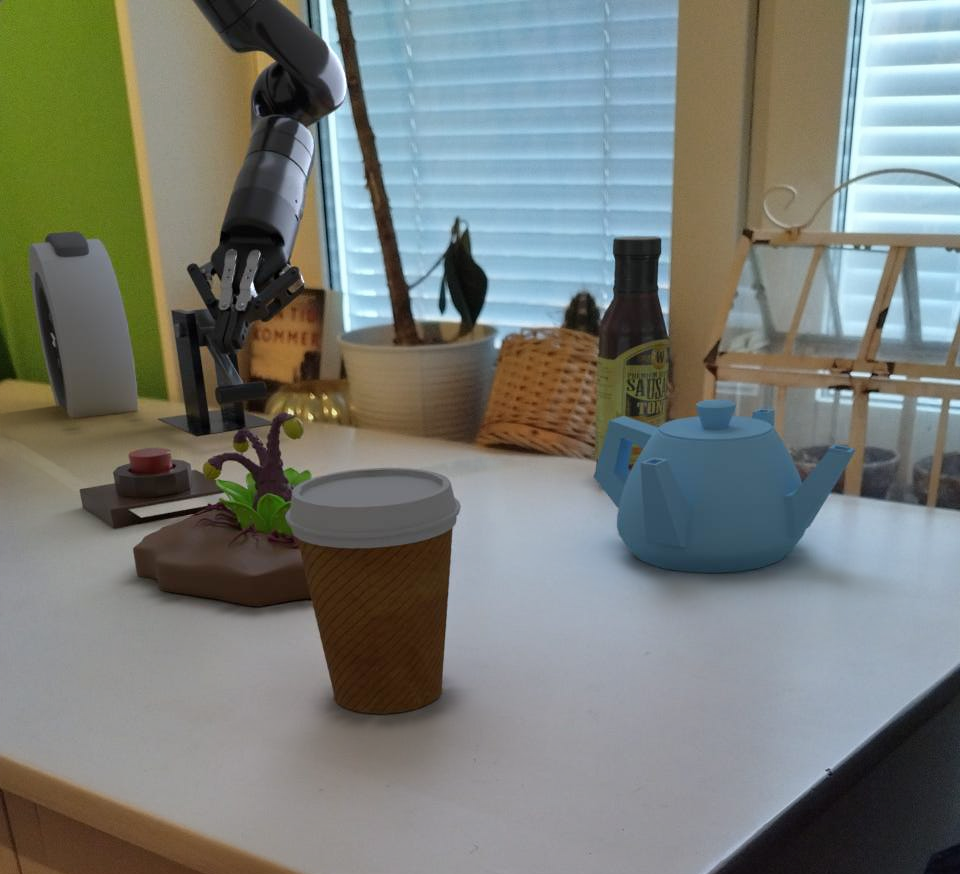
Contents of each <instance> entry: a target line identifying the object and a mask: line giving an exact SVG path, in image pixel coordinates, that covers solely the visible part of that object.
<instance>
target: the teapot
mask: <svg viewBox="0 0 960 874" xmlns="http://www.w3.org/2000/svg"><path fill="white" fill-rule="evenodd" d="M736 406H737V403H736V402H735V401H733V400H730V399H721V398H720V399H719V398H717V399H716V398H715V399H714V398H713V399H712V398H711V399H705V400H701V401H699V402H697V403H696V404H695V407H696V411H697V415H698V416H690V417H688V416H687V417H682V418H677V419H672V420H669V421H666V423H664V424H662V425H661V426H660V427H655V426H652V425H649V424H646V423H643V422H640V421H637V420H634V419H632V418H629V417H626V416H622V417H619V418H616V419H613V420H610V422H609V425H608V428H607V432H606V435H605V439H604V442H603V446H602V449H601V453H600V456H599V460H598V463H597V462H596V464H597V467H596V466H595V470H594V474H593V479H595V481H596V482H597V484H598V485H599V486H600V487H601V489H602V490H603V491H604V492H605V493H606V495H607V496H608V497H609V499H610V500H611V501H612V502H613V504H614V505H615V506H616V508H617V509H618V510H617V515H616V529H617V532H618V535H619V537H620V538H621V539H622V541H623V542H624V544H625V545H626V546H627V547H628V549H629V550H630V551H631V552H632V553H633V554H634V556H635V557H636V558H637V559H639V560H640V561H642V562H644V563H646V564H648V565H652V566H654V567H657V568H662V569H665V570H671V571H678V572H685V573H686V572H687V573H700V574H702V573H703V574H721V573H737V572H745V571H750V570H756V569H761V568H764V567H768V566H771V565H773V564H775V563H777V562H779V561H781V560H782V559H783V558H784V557H786V555H787V554H788V553H789V552H790V551H792V550H793V548H795V547H796V545H797V544H798V543H799V541H800V540H801V539H803V536H804V535H805V533H806V530H807V529H808V528H810V527H811V525H812V523H813V522H814V521H815V518H816V517H817V516H818V514H819V512H820V511H821V509H822V507H823V505H824V504H825V503H826V501H827V499H828V497H829V495H830V494H831V492H832V491H833V489H834V487H835V486H836V484H837V483H838V481H839V479H840V477H841V476H842V475H843V472H844V471H845V469H846V467H847V466H848V464H849V462H850V461H851V460H852V458H853V456H854V454H855V453H856V448H855V447H850V446H846V445H842V444H841V445H840V444H835V443H834V444H832V445H831V446H829V447H828V448H827V452H826V453H825V454H824V456H823V457H822V458H821V459H820V460H819V462H818V463H817V464H816V465H815V467H814V468H813V469H812V471H810V472H809V474H808V475H807V476H806V478H805V479H804V480H803V482H802V479H801V475H800V473H799V471H798V468H797V467H796V464H795V462H794V460H793V457H792V456H791V454H790V452H789V450H788V448H787V446H786V445H785V443H784V441H783V438H781V436H780V435H779V433H778V432H777V430H776V428H775V411H776V409H772V408H771V409H769V408H759V409H756V410H754V411H752V416H751V417H747V416H735V415H734V413H735V411H736ZM633 443H634V444H636V445H638V446H640V447H642V448H644V449H643V450H642V452H641V454H640V455H639V457H638V459H637V460H636V462H635V464H634V466H633V468H632V469H631V471H630V470H629V469H628V464H629V460H630V455H631V450H632V445H633Z"/></svg>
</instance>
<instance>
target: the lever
mask: <svg viewBox="0 0 960 874" xmlns="http://www.w3.org/2000/svg"><path fill="white" fill-rule="evenodd" d="M189 312H193V313H195V317H196V324H197V332H198V339H199V346H200V348H202V347H206V348H207V350H208V351H209V353H210V355H211V357H212V358H213V361H214V360H215V362H216V364H217V365H218V367H219V369H220V371H221V372H222V374H223V376H224V378H225V379H226V381H227V383H228V385H229V386H223V387H218V386H217V387H215V389H214V397H215V400H216V403H217V404H218V405H219V406H220V405H222V404H229V403H235V402H242V401H243V402H248V401H254V400H262V399H266V398H267V396H268V393H267V392H268V391H267V387H266V384H265V382H264V381H262V380H261V381H253V382H245V383H244V382H243V381H242V379H241V377H239V376H240V374H239V375H238V373H237V372H236V370H235V368H234V366H233V365H232V363H231V361H230V359H229V358H228V356H227V354H221V352H220V350H219V348H218V347H217V345H216V343H215V341H214V339H213V332H214V329H215V325H216V322H217V321H216V320H214V319H213V318H212V316H211V314H210V312H209V310H208V309H207V308H201V309H192V310H191V309H190V310H189ZM215 362H214V363H215Z"/></svg>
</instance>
